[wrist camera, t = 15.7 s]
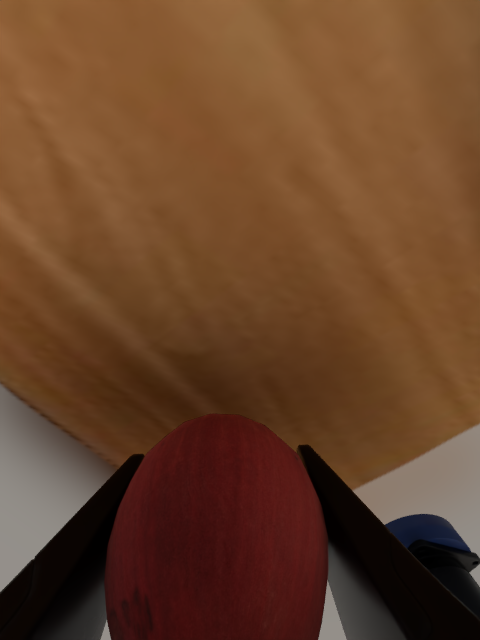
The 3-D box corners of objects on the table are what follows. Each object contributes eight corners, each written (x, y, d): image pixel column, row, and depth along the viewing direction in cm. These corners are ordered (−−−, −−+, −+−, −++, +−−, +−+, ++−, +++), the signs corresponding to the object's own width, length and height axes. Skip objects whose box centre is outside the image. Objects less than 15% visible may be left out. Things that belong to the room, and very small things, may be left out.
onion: (193, 488, 12) (129, 954, 4) (129, 400, 10) (-205, 965, 2) (305, 448, 11) (467, 894, 4) (261, 347, 9) (411, 845, 2)
